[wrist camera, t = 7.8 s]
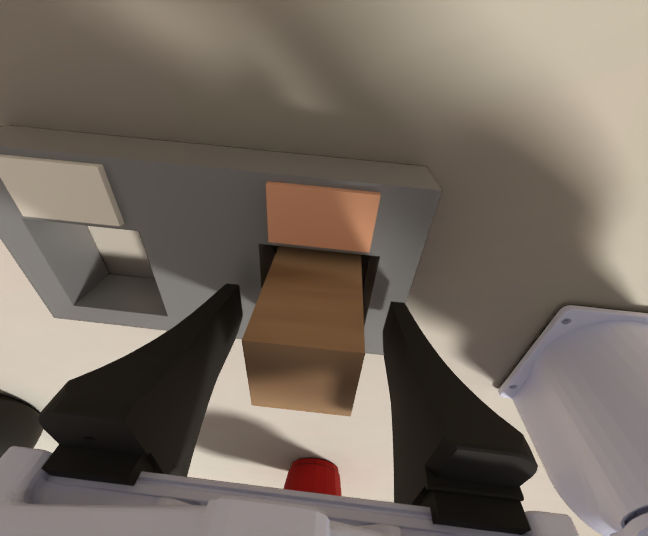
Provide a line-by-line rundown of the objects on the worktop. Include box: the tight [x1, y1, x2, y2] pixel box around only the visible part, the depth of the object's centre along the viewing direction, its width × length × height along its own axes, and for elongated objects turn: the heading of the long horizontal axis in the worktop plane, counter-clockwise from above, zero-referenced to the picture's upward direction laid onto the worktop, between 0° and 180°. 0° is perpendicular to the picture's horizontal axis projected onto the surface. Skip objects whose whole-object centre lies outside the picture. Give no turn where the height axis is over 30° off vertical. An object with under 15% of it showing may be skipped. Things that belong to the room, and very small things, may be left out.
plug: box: [242, 246, 365, 416], centre depth 14 cm, size 4×4×8 cm
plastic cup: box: [284, 458, 341, 496], centre depth 30 cm, size 11×11×12 cm
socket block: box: [0, 125, 442, 355], centre depth 15 cm, size 10×20×3 cm, turn 86°
